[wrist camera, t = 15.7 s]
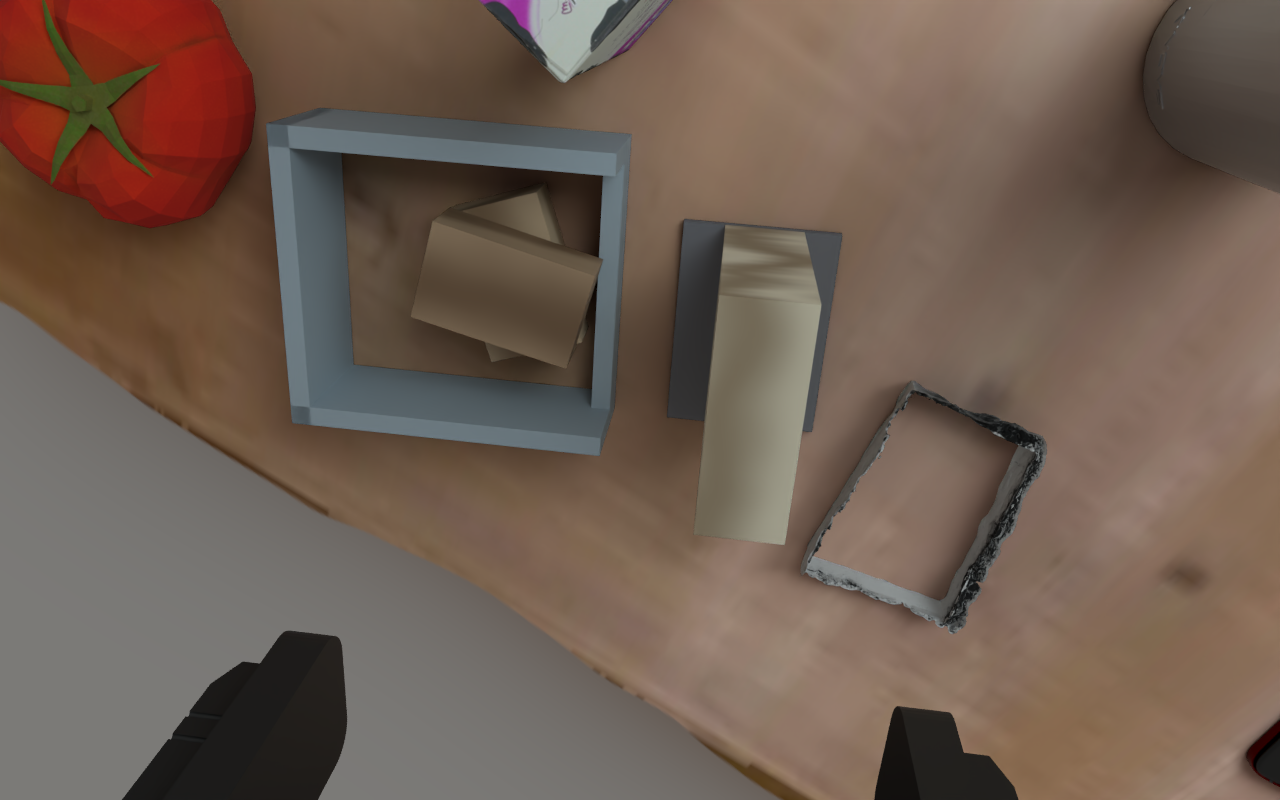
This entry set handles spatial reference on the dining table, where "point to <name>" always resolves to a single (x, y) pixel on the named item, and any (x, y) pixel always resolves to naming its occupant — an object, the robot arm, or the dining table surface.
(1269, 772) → the smartphone
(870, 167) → the dining table surface
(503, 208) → the offcut block lower
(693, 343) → the mat
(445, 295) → the offcut block upper
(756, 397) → the beige hardcover book
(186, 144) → the tomato
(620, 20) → the candy bar box
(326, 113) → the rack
